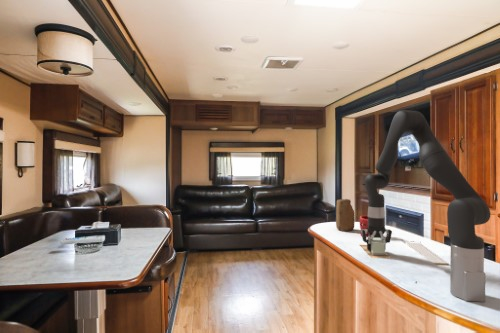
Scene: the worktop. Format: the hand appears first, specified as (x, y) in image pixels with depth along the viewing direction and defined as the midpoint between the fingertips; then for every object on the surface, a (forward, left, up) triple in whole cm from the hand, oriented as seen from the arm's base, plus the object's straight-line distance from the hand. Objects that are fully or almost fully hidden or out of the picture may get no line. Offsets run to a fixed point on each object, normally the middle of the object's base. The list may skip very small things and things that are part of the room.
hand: (376, 250), depth 143 cm
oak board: (+4, 0, -3) cm, 4 cm away
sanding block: (0, 0, -1) cm, 1 cm away
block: (+52, +3, -3) cm, 52 cm away
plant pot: (+34, -8, -3) cm, 35 cm away
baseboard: (+5, -23, -3) cm, 24 cm away
